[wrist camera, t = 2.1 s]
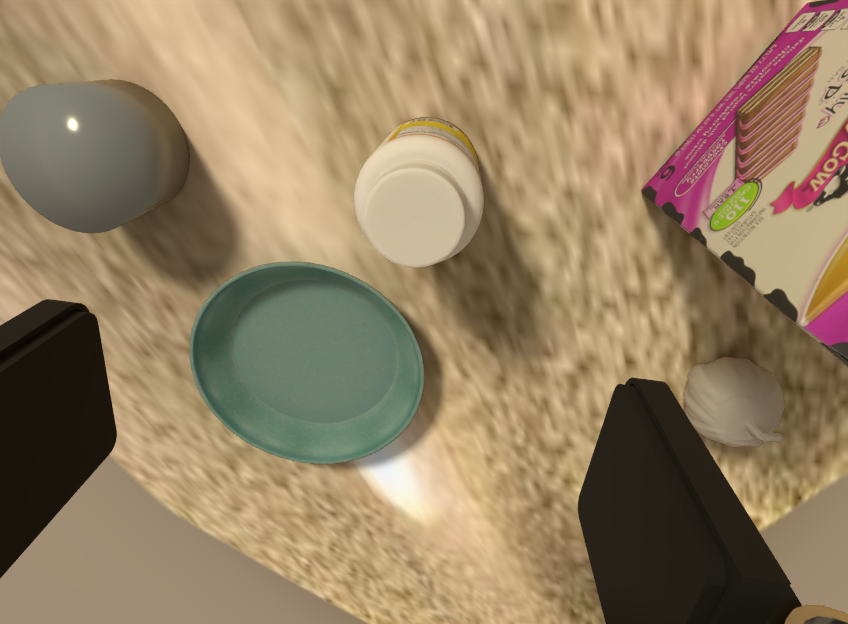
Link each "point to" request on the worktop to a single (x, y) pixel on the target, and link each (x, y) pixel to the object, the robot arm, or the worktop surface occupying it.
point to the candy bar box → (777, 176)
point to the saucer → (306, 362)
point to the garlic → (734, 402)
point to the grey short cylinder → (92, 152)
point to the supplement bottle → (420, 193)
